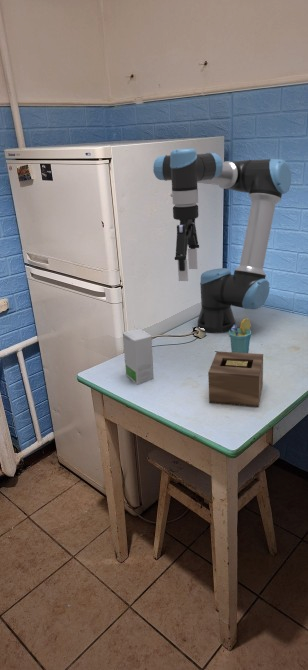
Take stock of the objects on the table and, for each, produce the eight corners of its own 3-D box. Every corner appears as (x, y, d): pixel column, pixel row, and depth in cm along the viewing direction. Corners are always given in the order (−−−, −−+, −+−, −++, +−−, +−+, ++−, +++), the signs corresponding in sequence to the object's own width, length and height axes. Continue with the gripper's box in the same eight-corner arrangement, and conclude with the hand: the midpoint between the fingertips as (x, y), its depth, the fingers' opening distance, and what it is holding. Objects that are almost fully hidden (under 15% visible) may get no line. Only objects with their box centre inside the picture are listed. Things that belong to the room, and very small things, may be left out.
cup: (242, 372, 152) (242, 329, 146) (220, 368, 155) (219, 326, 150) (256, 355, 163) (257, 314, 157) (235, 351, 166) (235, 312, 161)
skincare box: (125, 375, 156) (121, 332, 150) (143, 369, 159) (139, 327, 153) (137, 385, 149) (133, 340, 143) (155, 379, 152) (152, 334, 146)
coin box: (217, 380, 148) (216, 351, 144) (262, 383, 144) (263, 354, 140) (209, 402, 136) (208, 372, 132) (258, 407, 132) (259, 375, 128)
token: (227, 387, 142) (227, 360, 139) (247, 388, 140) (247, 361, 137) (225, 392, 139) (225, 364, 136) (246, 393, 138) (246, 366, 134)
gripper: (182, 199, 151) (185, 264, 159) (161, 211, 129) (166, 286, 137) (205, 198, 148) (207, 264, 157) (188, 211, 127) (191, 286, 135)
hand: (188, 274), depth 147 cm, fingers open, 13 cm apart
